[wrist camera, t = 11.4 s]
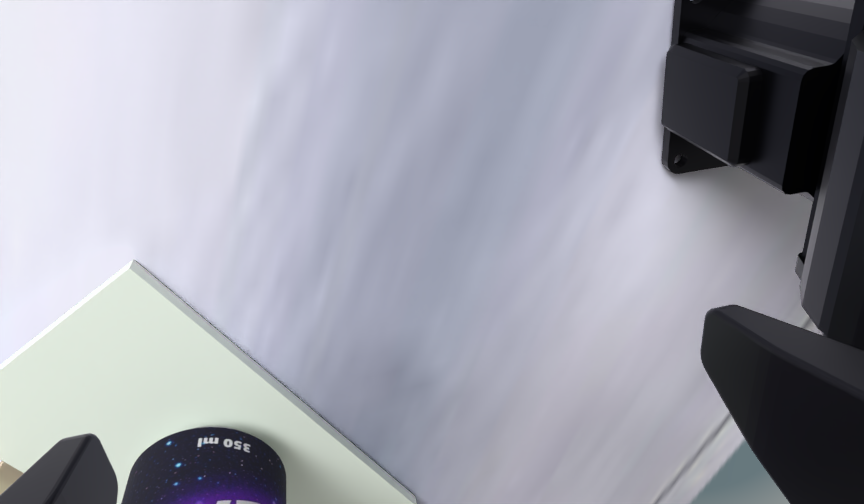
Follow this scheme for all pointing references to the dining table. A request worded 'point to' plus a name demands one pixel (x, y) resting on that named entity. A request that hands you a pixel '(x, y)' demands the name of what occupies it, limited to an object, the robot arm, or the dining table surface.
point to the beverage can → (207, 470)
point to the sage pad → (168, 394)
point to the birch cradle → (8, 476)
